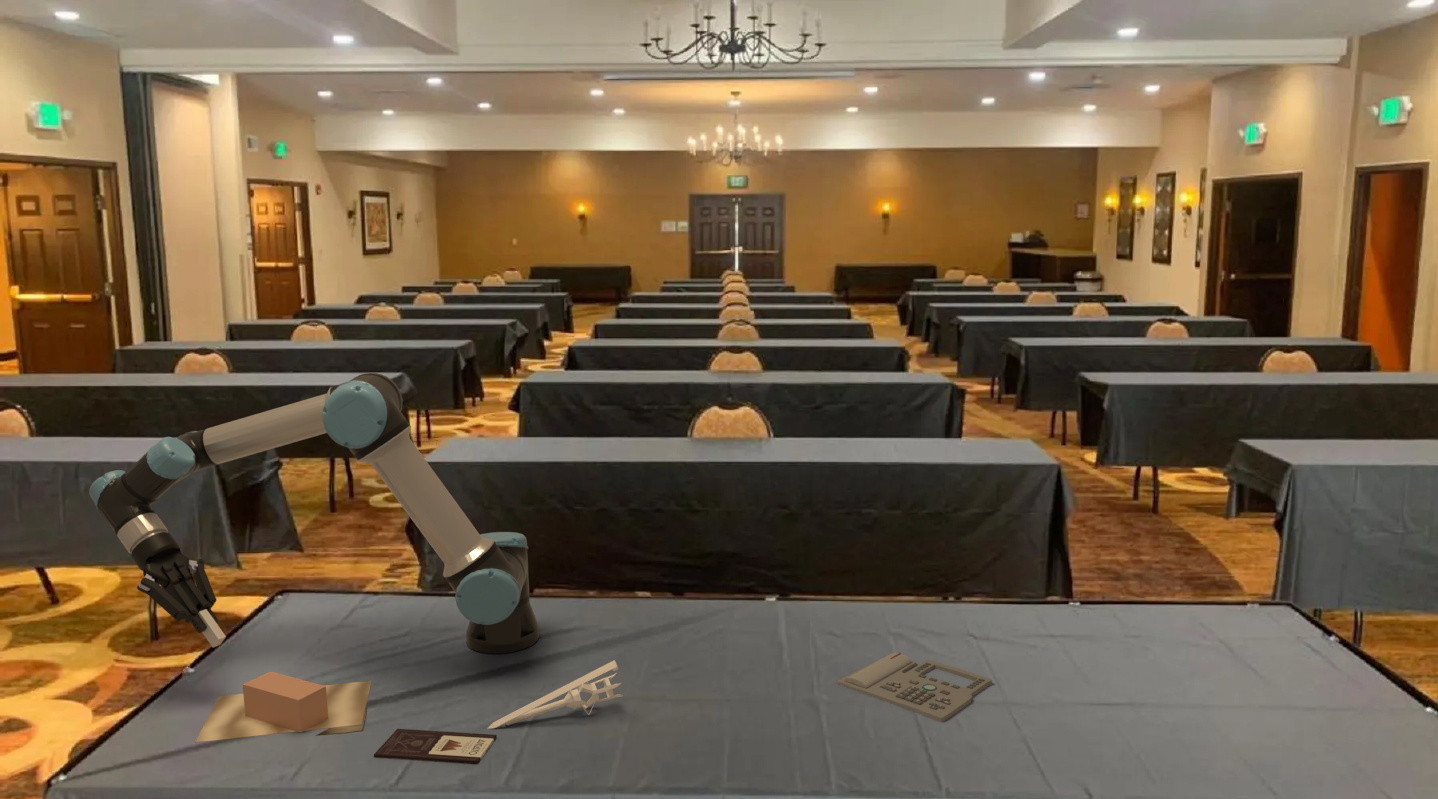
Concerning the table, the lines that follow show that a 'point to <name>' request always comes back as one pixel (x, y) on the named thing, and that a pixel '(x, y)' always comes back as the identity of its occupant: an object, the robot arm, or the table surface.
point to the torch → (566, 697)
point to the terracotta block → (285, 701)
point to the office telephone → (915, 686)
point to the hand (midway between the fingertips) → (219, 642)
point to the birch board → (232, 723)
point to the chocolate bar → (436, 746)
